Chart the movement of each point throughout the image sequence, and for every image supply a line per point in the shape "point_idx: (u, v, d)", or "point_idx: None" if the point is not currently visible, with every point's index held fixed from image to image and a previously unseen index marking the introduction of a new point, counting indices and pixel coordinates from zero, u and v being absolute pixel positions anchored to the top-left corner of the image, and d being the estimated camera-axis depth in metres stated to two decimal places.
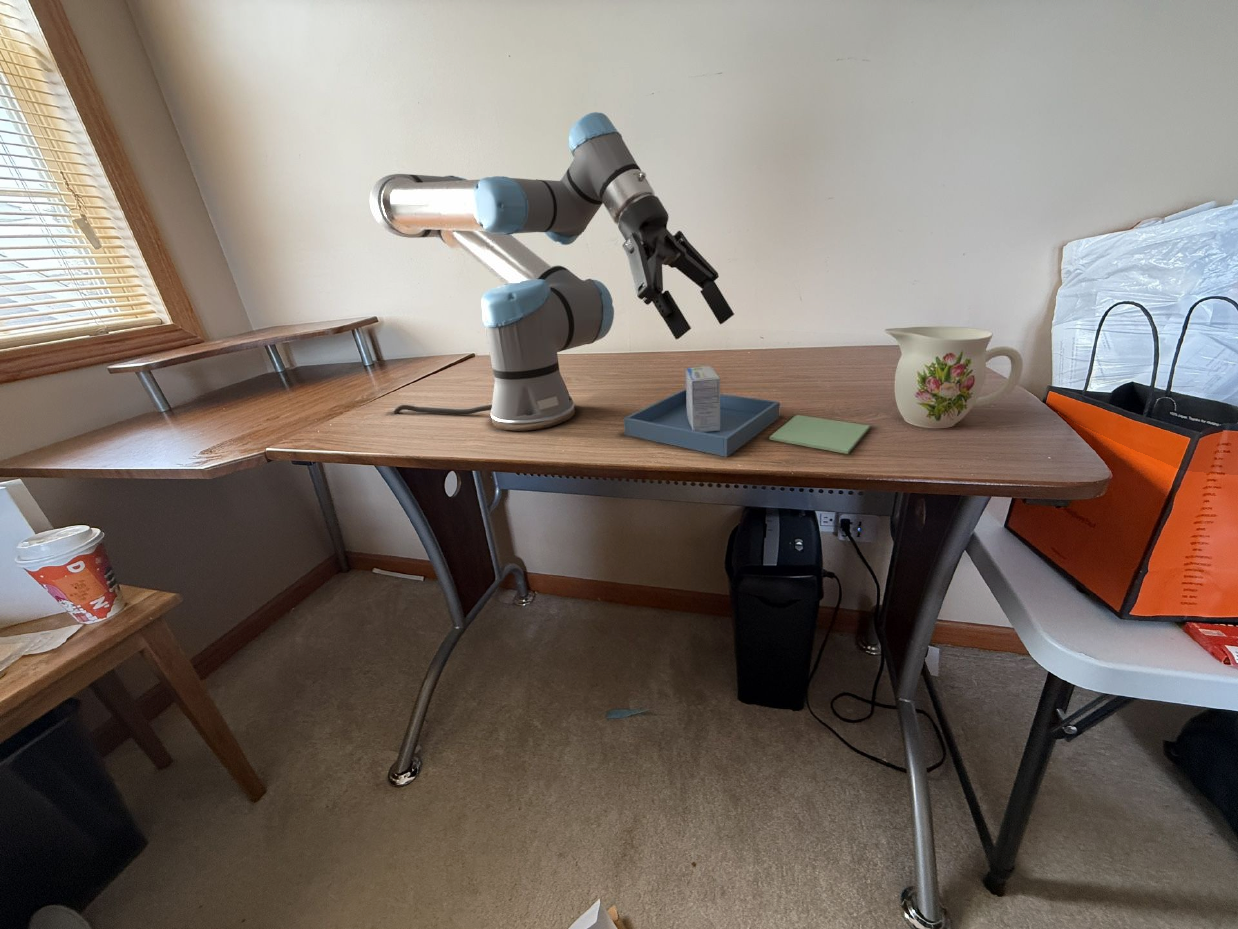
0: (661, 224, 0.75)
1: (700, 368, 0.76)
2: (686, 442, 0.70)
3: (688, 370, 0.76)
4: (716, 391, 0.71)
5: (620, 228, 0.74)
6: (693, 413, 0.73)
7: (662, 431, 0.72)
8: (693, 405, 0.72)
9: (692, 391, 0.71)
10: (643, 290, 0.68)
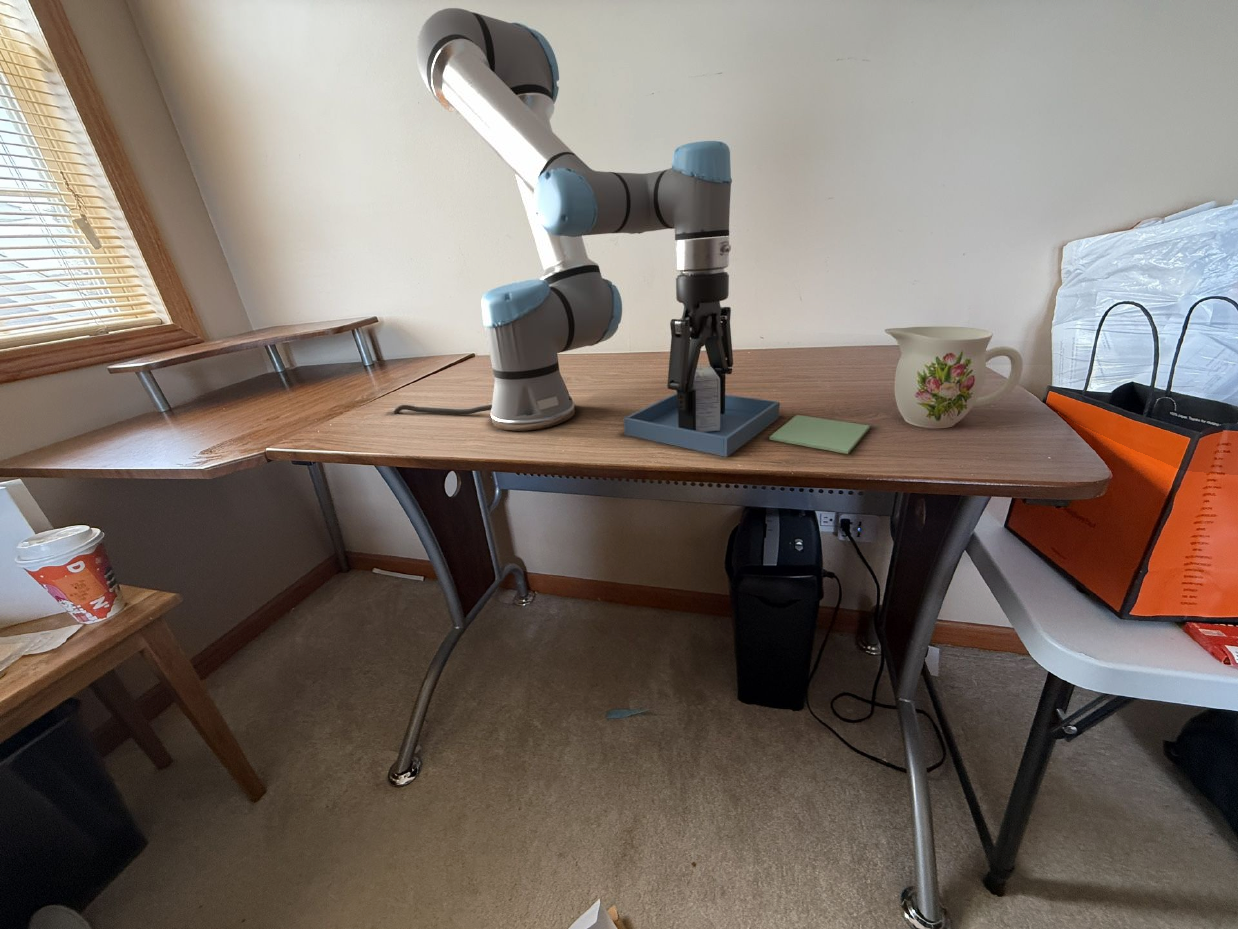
0: None
1: (700, 368, 0.76)
2: (686, 442, 0.70)
3: None
4: (716, 391, 0.71)
5: (677, 283, 0.68)
6: None
7: (662, 431, 0.72)
8: None
9: None
10: (675, 387, 0.69)
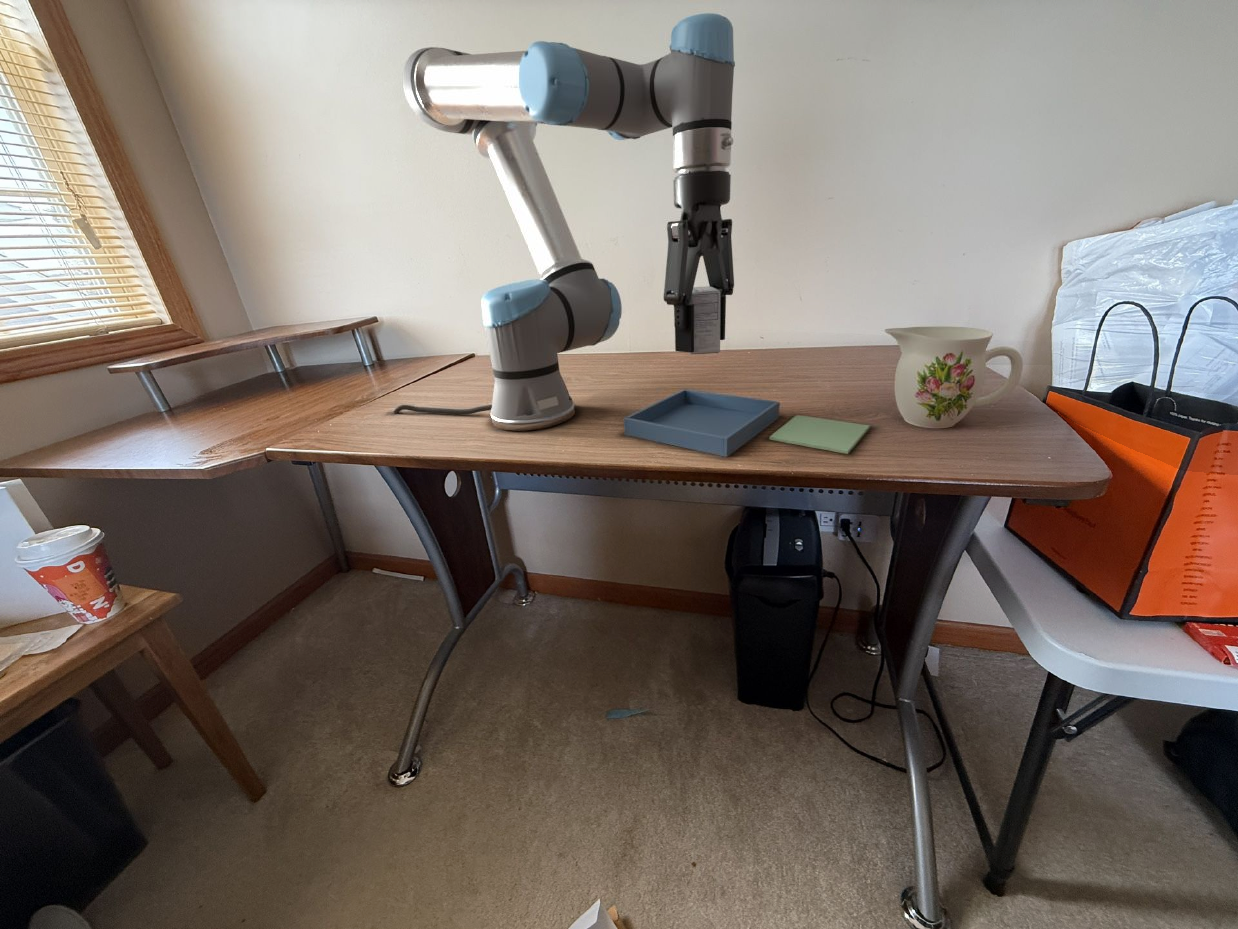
0: None
1: (699, 287, 0.71)
2: (686, 442, 0.70)
3: None
4: (716, 307, 0.67)
5: (675, 184, 0.63)
6: None
7: (662, 431, 0.72)
8: None
9: None
10: (672, 298, 0.64)
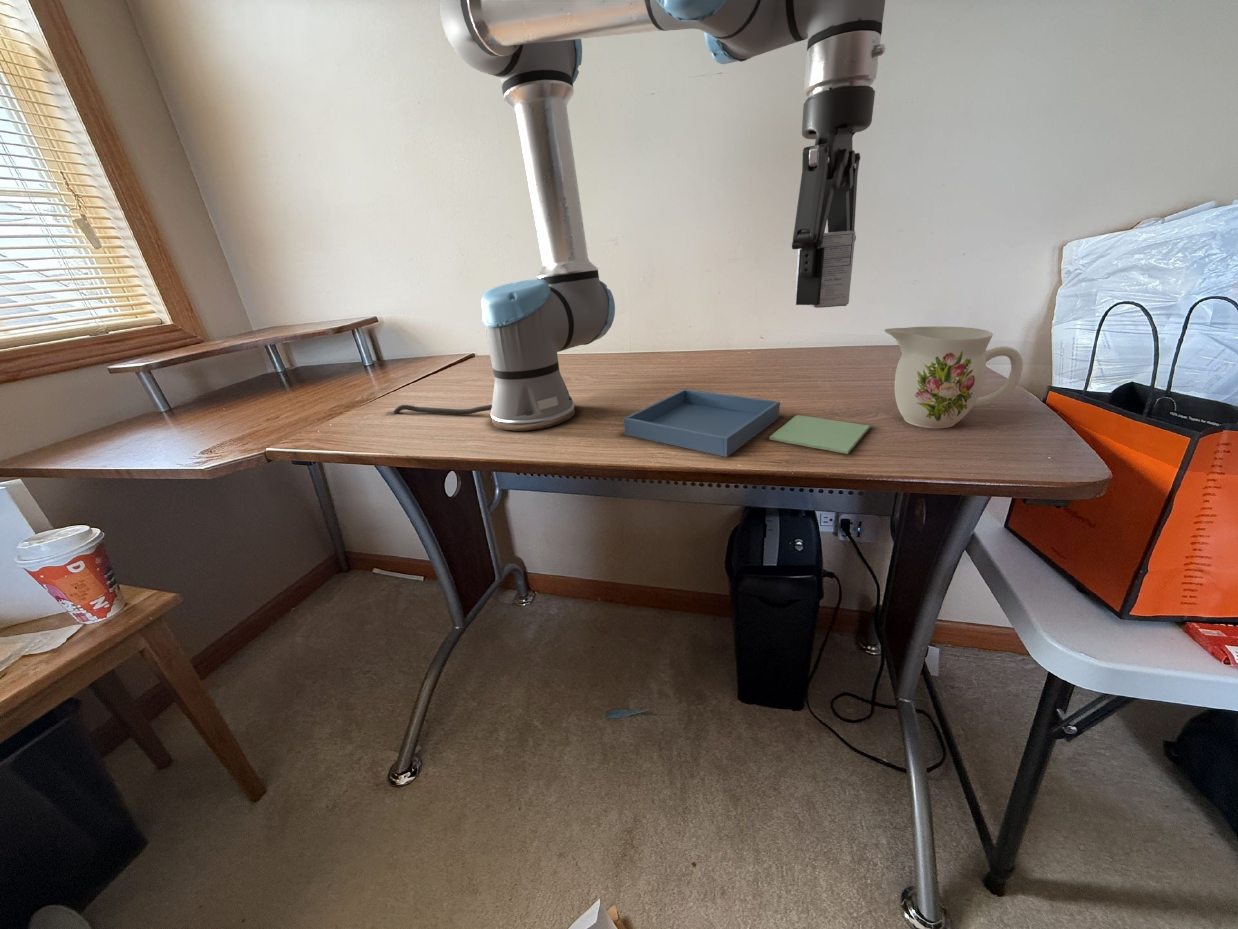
0: (853, 131, 0.56)
1: None
2: (686, 442, 0.70)
3: None
4: (849, 250, 0.58)
5: (809, 106, 0.54)
6: None
7: (662, 431, 0.72)
8: None
9: None
10: (804, 238, 0.55)
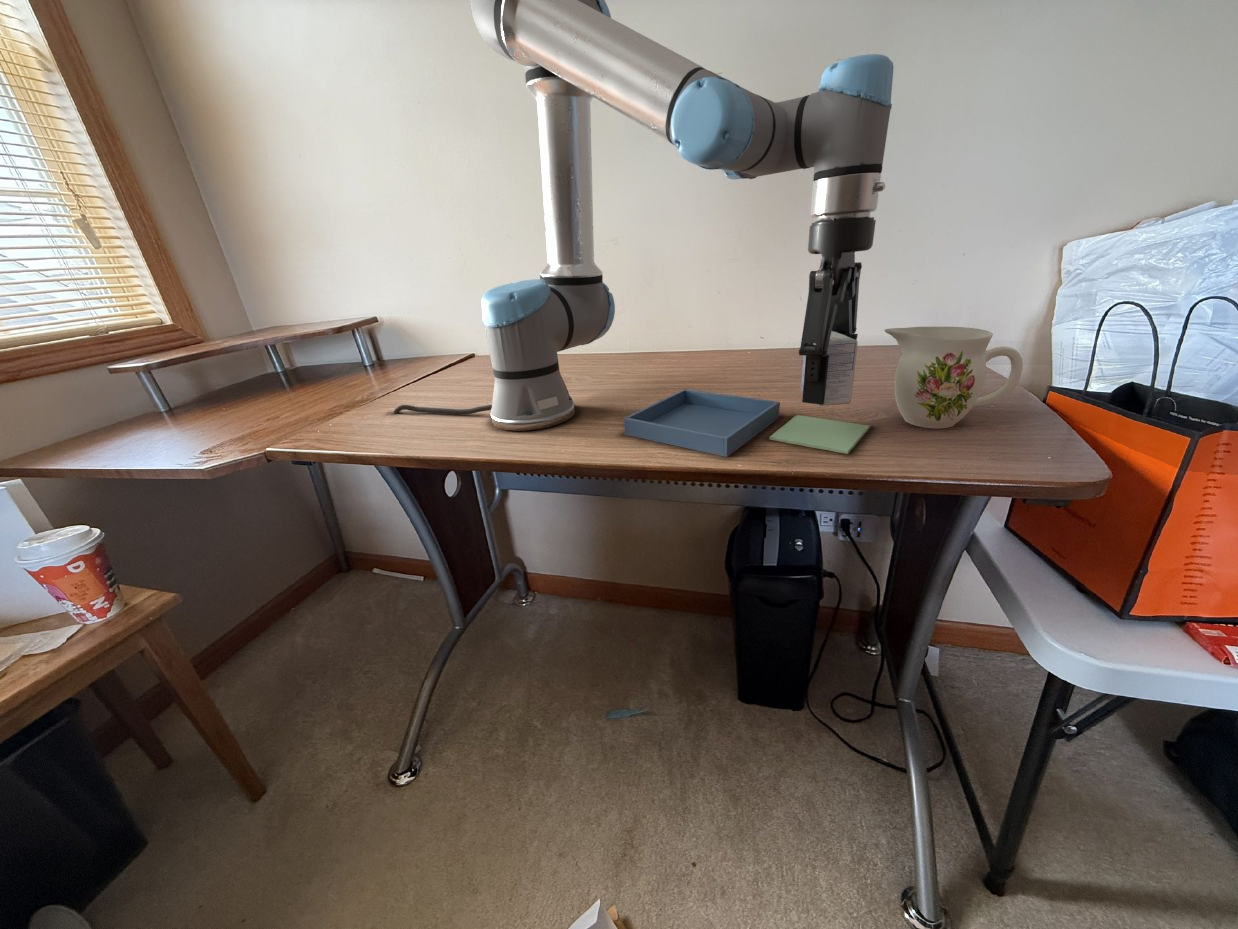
0: None
1: None
2: (686, 442, 0.70)
3: None
4: (851, 357, 0.62)
5: (815, 230, 0.59)
6: None
7: (662, 431, 0.72)
8: None
9: None
10: (810, 351, 0.60)
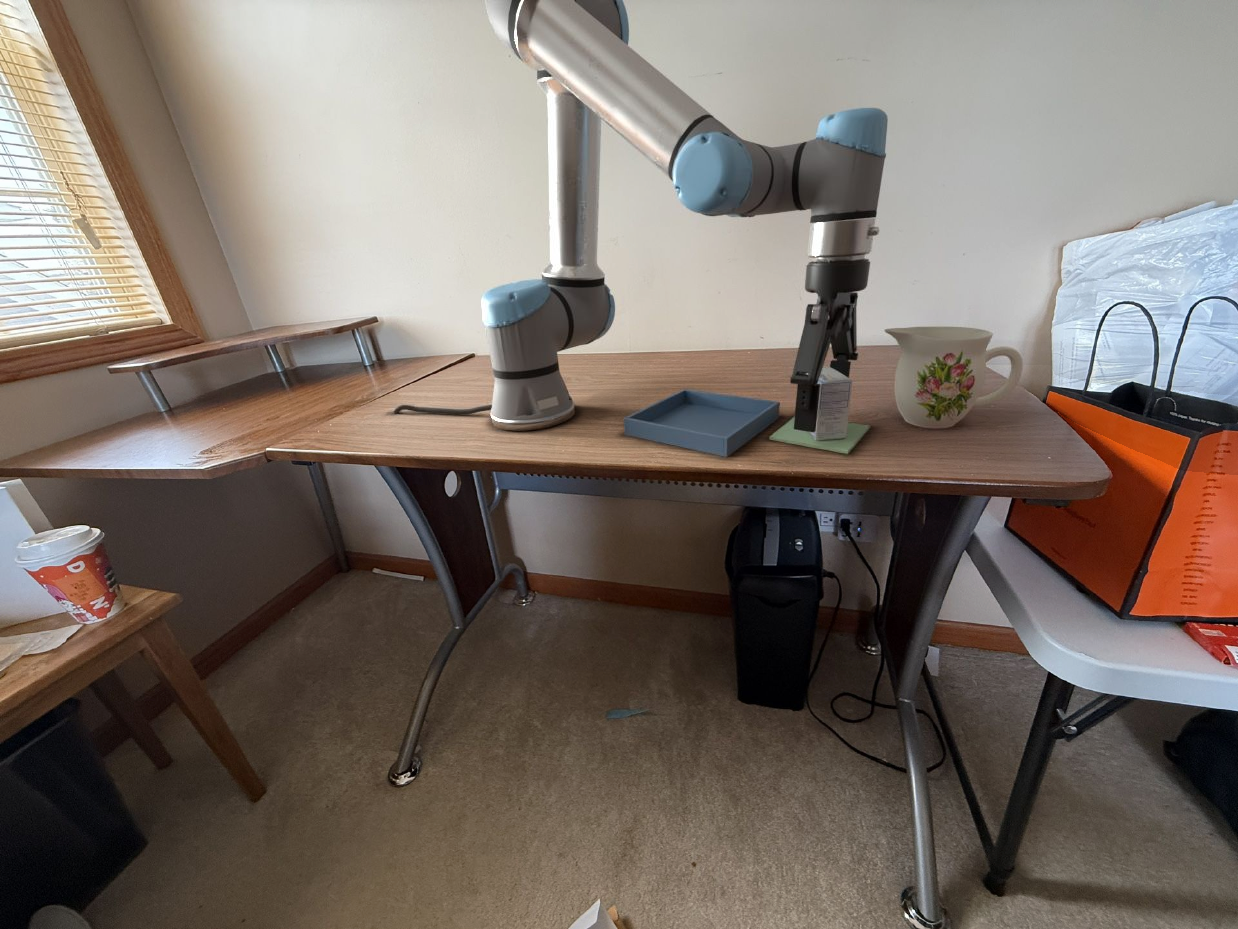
0: None
1: None
2: (686, 442, 0.70)
3: None
4: (846, 395, 0.65)
5: (811, 271, 0.61)
6: (818, 419, 0.66)
7: (662, 431, 0.72)
8: (819, 410, 0.66)
9: (820, 395, 0.65)
10: (802, 380, 0.60)
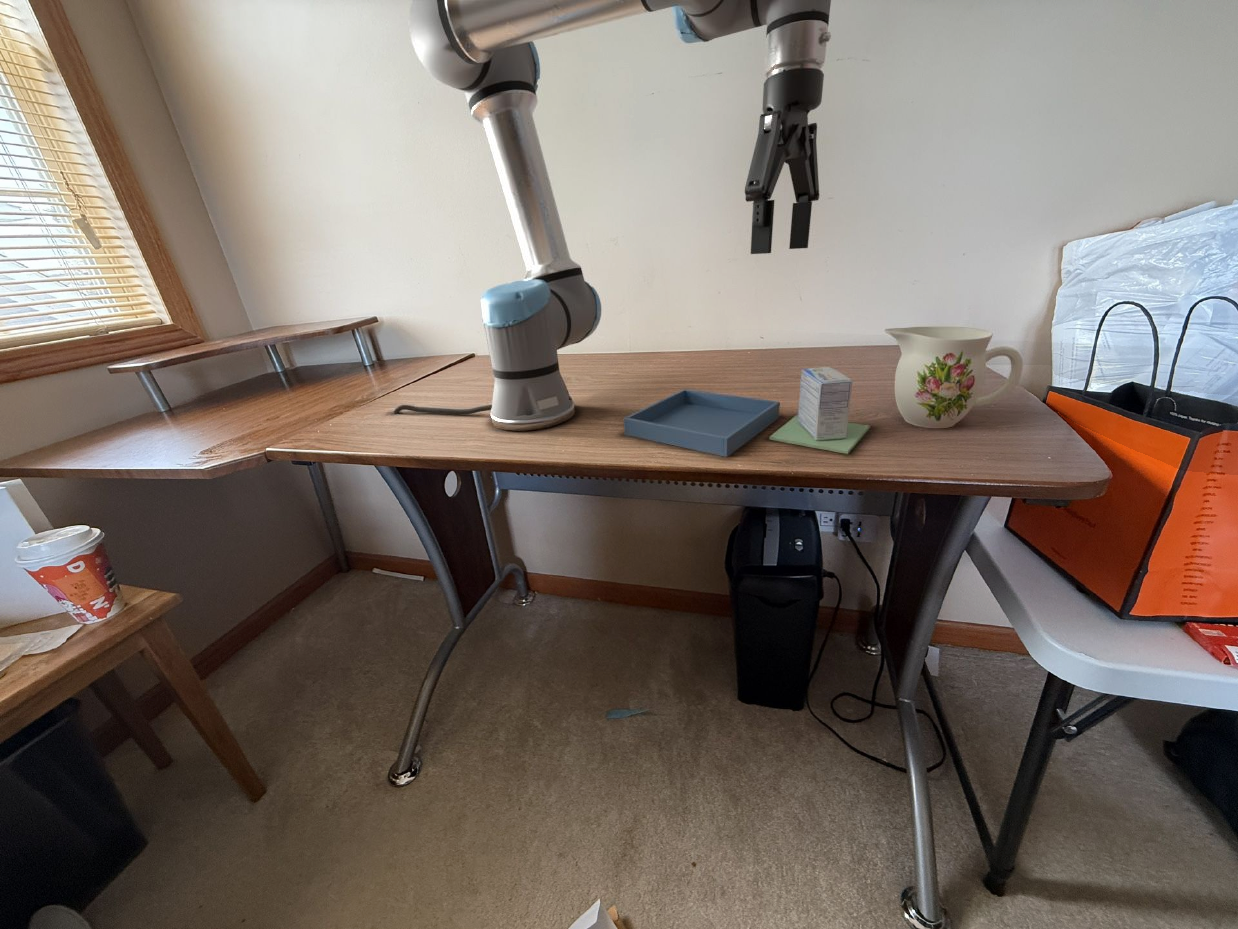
0: (807, 109, 0.64)
1: (820, 369, 0.70)
2: (686, 442, 0.70)
3: (807, 371, 0.70)
4: (846, 395, 0.65)
5: (767, 86, 0.63)
6: (818, 419, 0.66)
7: (662, 431, 0.72)
8: (819, 410, 0.66)
9: (820, 395, 0.65)
10: (754, 188, 0.61)
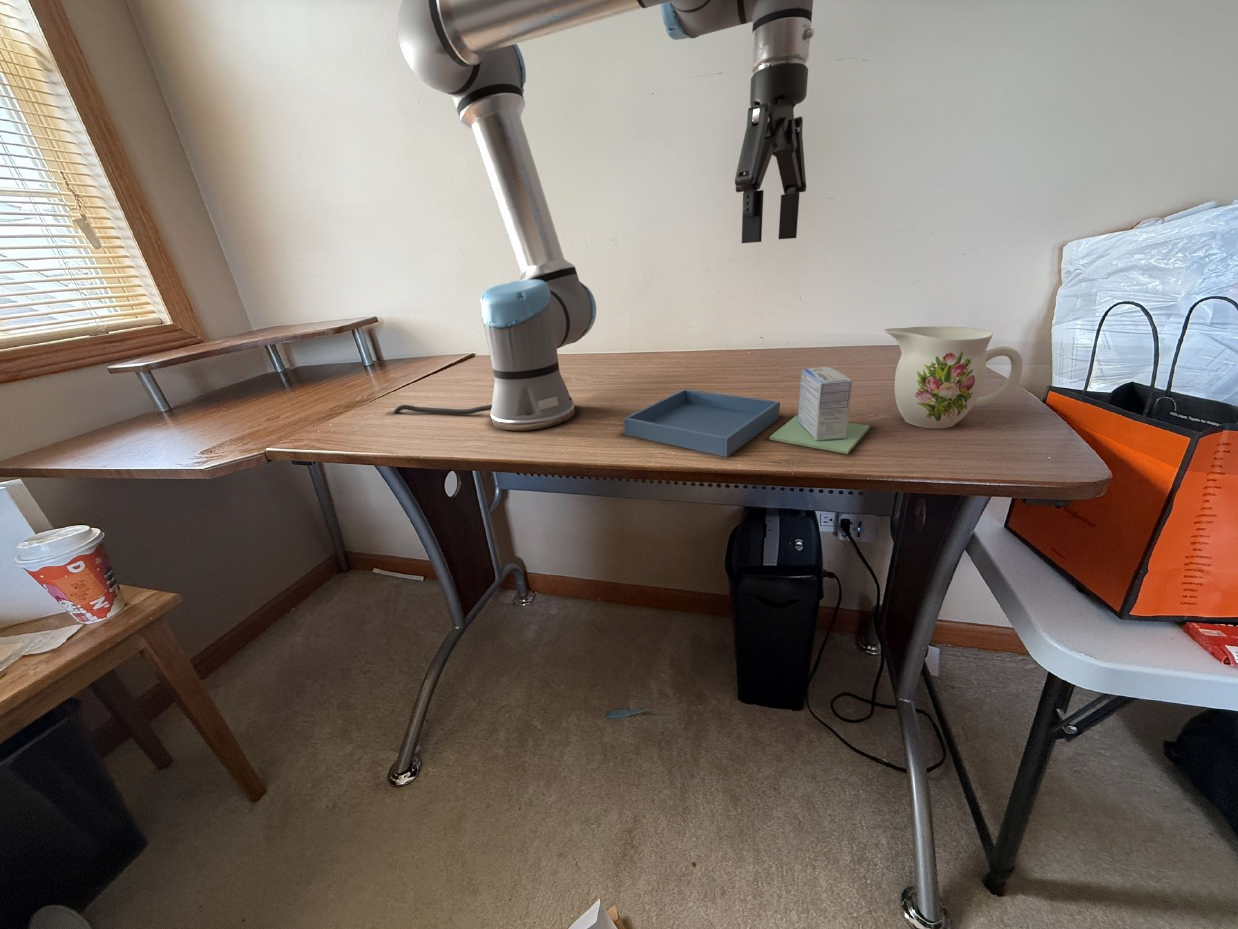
0: (792, 103, 0.67)
1: (820, 369, 0.70)
2: (686, 442, 0.70)
3: (807, 371, 0.70)
4: (846, 395, 0.65)
5: (754, 81, 0.65)
6: (818, 419, 0.66)
7: (662, 431, 0.72)
8: (819, 410, 0.66)
9: (820, 395, 0.65)
10: (744, 179, 0.64)
